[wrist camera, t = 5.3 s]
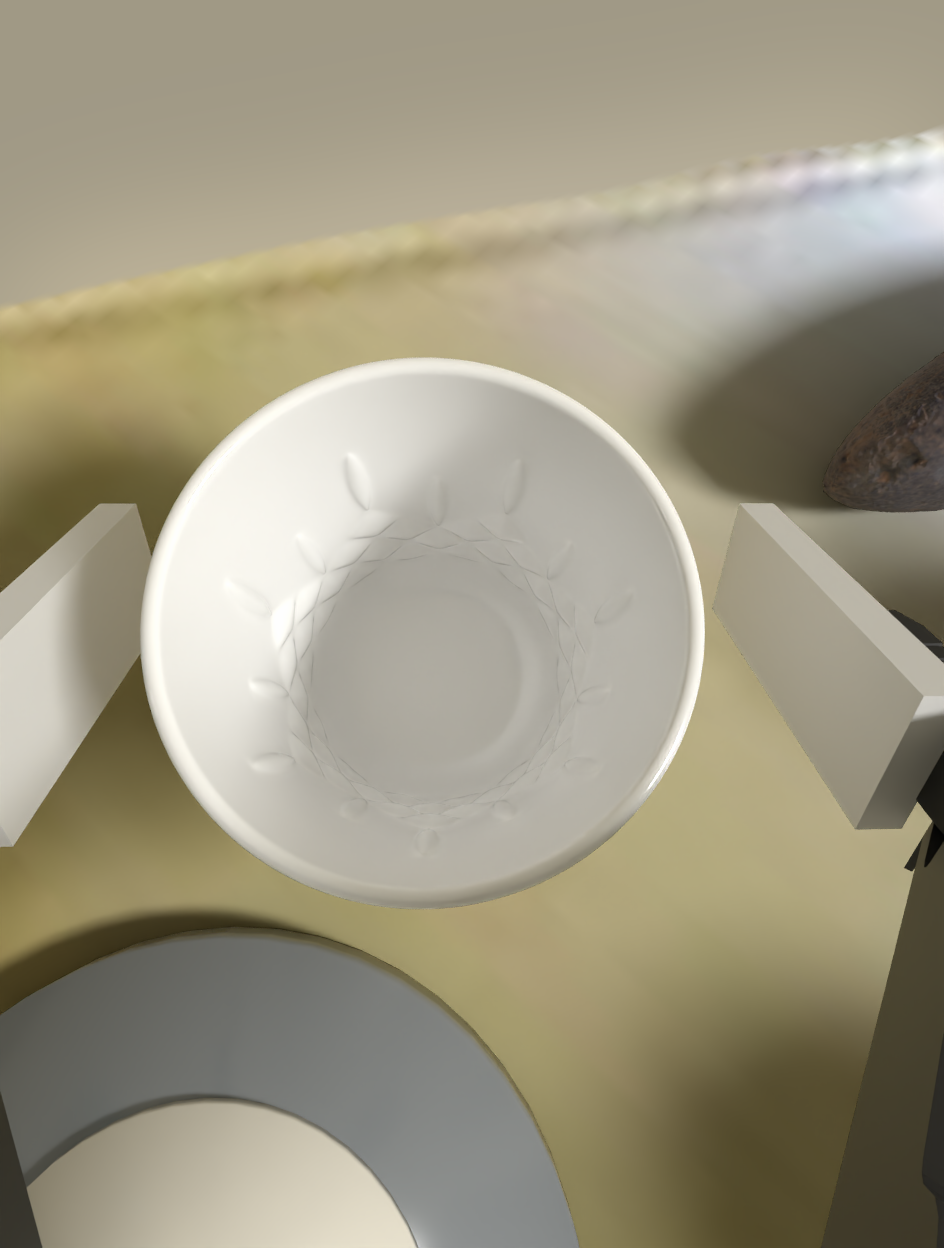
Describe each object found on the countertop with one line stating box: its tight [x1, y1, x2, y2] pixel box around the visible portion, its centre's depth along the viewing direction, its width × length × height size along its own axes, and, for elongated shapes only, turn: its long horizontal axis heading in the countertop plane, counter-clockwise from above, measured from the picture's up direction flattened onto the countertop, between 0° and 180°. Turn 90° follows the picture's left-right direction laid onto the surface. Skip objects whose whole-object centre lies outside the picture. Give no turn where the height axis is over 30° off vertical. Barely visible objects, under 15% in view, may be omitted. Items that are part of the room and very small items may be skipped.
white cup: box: [140, 357, 705, 909], centre depth 14 cm, size 8×8×10 cm
